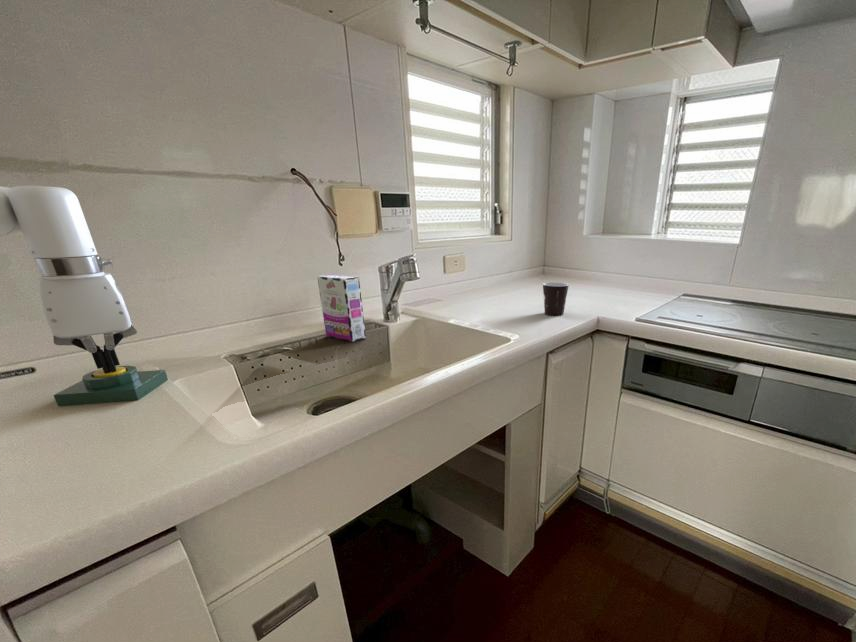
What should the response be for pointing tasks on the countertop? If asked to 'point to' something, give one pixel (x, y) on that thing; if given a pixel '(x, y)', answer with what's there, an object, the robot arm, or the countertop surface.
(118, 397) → the control box
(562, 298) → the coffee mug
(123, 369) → the button
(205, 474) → the countertop surface
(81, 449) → the countertop surface
